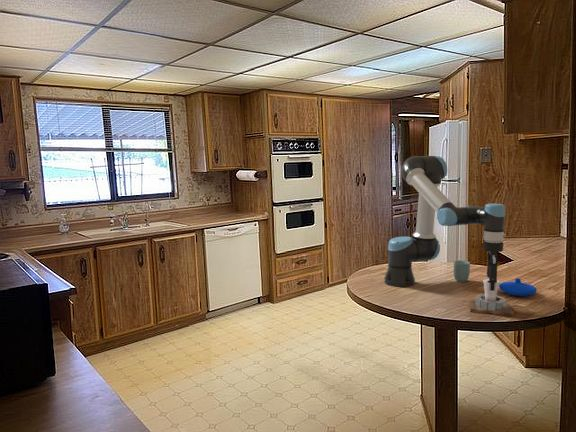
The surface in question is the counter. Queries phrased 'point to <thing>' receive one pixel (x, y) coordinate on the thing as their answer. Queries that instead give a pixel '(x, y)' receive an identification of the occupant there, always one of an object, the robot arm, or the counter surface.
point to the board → (504, 312)
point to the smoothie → (487, 290)
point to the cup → (461, 270)
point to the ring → (490, 303)
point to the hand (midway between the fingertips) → (490, 295)
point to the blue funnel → (517, 288)
